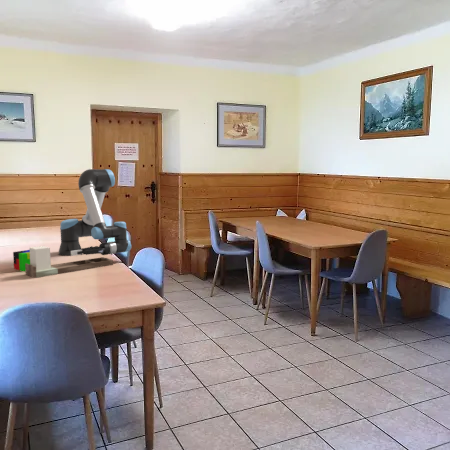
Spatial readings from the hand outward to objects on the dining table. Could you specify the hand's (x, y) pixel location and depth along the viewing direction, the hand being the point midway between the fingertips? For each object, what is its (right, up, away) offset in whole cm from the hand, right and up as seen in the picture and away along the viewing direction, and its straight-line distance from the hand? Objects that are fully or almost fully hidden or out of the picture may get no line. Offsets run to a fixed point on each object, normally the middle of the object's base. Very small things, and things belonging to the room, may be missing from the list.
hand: (71, 253), depth 266 cm
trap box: (0, -9, +1) cm, 9 cm away
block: (-13, -8, -12) cm, 19 cm away
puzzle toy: (-27, -9, +3) cm, 29 cm away
